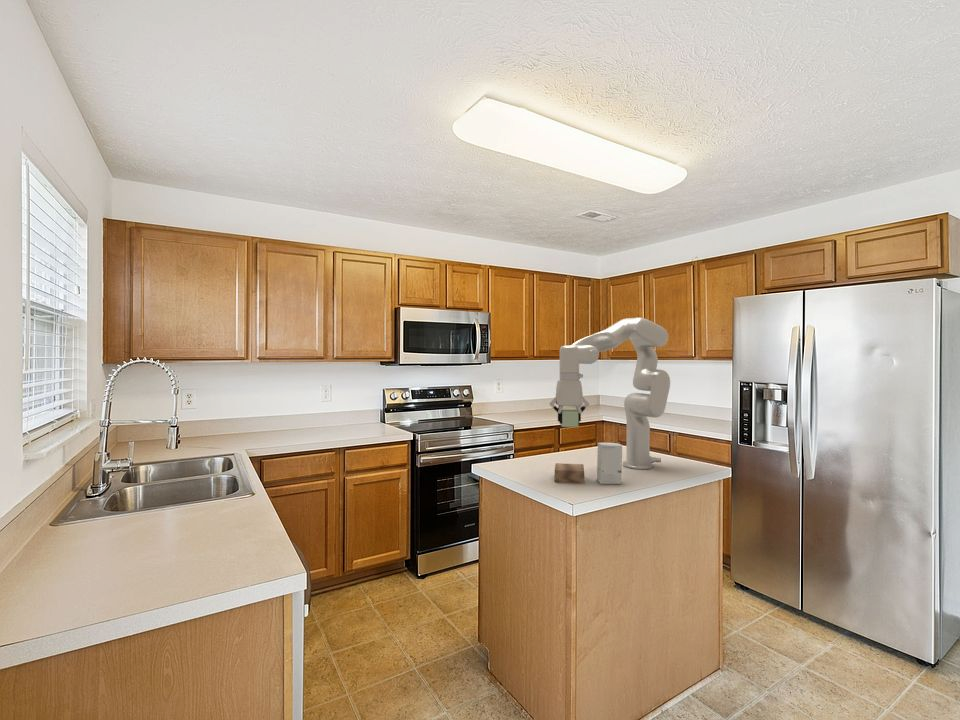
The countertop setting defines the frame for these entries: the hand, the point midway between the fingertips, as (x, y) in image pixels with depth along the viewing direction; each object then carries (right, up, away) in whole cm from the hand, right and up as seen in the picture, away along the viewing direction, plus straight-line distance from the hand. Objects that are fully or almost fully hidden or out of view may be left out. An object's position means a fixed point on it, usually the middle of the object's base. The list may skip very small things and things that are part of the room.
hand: (569, 422), depth 188 cm
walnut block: (0, -22, +1) cm, 22 cm away
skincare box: (+15, -22, -4) cm, 27 cm away
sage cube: (0, -1, 0) cm, 1 cm away
